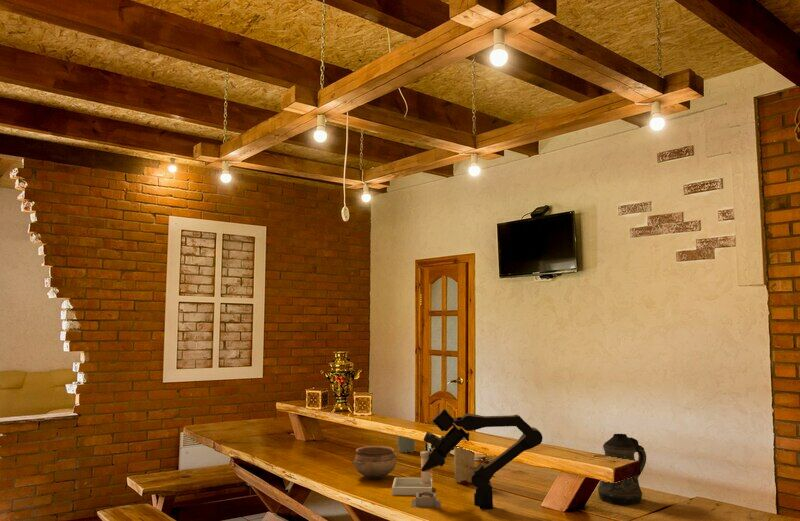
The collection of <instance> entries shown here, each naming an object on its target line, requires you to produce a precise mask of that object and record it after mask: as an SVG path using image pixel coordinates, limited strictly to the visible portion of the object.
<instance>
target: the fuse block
mask: <svg viewBox="0 0 800 521" xmlns="http://www.w3.org/2000/svg"><path fill="white" fill-rule="evenodd" d="M441 501H442V499H437V492H433V491H432V492H430V491H422V492H419V493H416V495H415V499H413V498H412V500H411V504H410V507H411V508H439V509H440V508H441V503H442V502H441Z"/></svg>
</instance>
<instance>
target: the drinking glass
mask: <svg viewBox="0 0 800 521" xmlns="http://www.w3.org/2000/svg"><path fill="white" fill-rule="evenodd" d="M415 440H416V439H415ZM415 440H413V439H409V438H405V437H401V436H398V435H397V451H399V452H398V453H400V452H412V453H414V452H415V443H416V442H415ZM413 451H414V452H413Z"/></svg>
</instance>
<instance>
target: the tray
mask: <svg viewBox="0 0 800 521" xmlns="http://www.w3.org/2000/svg"><path fill="white" fill-rule="evenodd" d="M420 482H421V477H394V479H393V483H392V486H391V495H392V496H394V495H395V496H416V493H419V492H422V491H430V492H433V477H431V487H421V486H420Z"/></svg>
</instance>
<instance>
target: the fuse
mask: <svg viewBox="0 0 800 521" xmlns="http://www.w3.org/2000/svg"><path fill="white" fill-rule="evenodd" d="M429 452H430V451H429V450H423V451H420V453H419V454H420V456H419V457H420V462H421V463H420V476H421V477H420V478H421V482H420V486H421V487H431V478H432V477H431V476H432V475H431V473H432V471H431V470H432V468H431V469H429V470H426V471H424V472H423V471H422V470H421V469H422V467H423V466H424V464H425V463H426V462H427V460H428V459H429Z"/></svg>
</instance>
